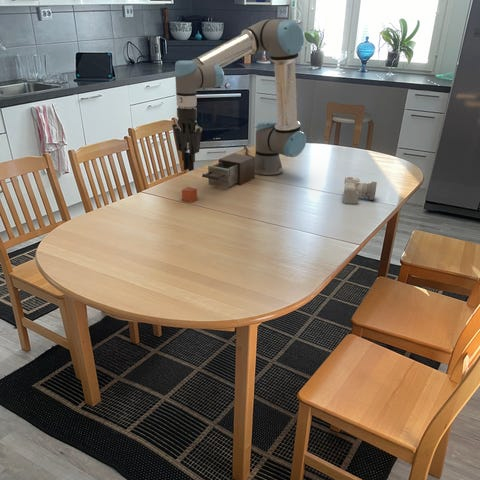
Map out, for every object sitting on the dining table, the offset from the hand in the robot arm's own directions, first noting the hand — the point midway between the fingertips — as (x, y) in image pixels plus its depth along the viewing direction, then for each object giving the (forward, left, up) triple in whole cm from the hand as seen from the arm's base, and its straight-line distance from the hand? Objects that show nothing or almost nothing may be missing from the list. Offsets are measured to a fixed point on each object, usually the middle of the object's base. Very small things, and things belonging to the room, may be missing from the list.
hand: (188, 169), depth 198 cm
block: (0, 0, -12) cm, 12 cm away
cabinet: (-20, +29, -12) cm, 37 cm away
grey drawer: (-12, +19, -12) cm, 25 cm away
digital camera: (+22, +68, -13) cm, 73 cm away
